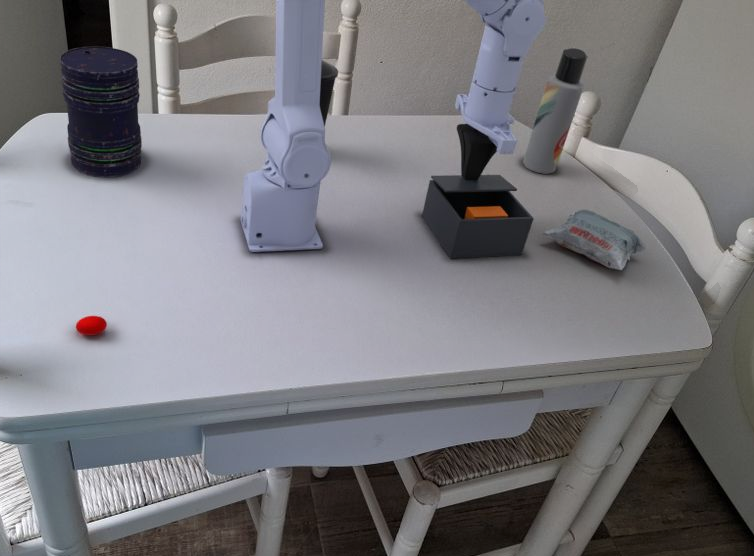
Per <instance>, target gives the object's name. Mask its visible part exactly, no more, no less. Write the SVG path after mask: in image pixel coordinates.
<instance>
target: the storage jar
mask: <svg viewBox="0 0 754 556" xmlns="http://www.w3.org/2000/svg"><path fill="white" fill-rule="evenodd" d="M59 61H60V66H61V68H60V70H61V76H60V77H61V86H62V90H63V91H62V95H63V99H64V102H66V110H67V120H68V123H67V128H66V129H67V143H68V148H69V154H70V155H71V156H70V163H71V166H72V167H73V168H74V170H76V171H77V172H78V173H80V174H83V175H87V176H91V177H96V178H97V177H98V178H117V177H122V176H127V175H129V174H132V173H134V172H136V171H137V170H138V169H139V168H140V167H141V166H142V163H143V161H142V159H143V158H142V155H141V154H142V146H143V144H142V143H143V142H142V131H141V130H142V129H141V125H140V124H139V107H138V104H139V101H140V96H141V94H140V79H139V71H138V67H139V66H138V58H137V57H136V55H134V54H132V53H130V52H129V51H126V50H123V49H119V48H115V47H108V46H82V47H76V48H72V49H69V50H67V51H64V52H63V53H61V55H60V57H59Z"/></svg>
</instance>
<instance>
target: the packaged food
mask: <svg viewBox="0 0 754 556" xmlns="http://www.w3.org/2000/svg"><path fill="white" fill-rule="evenodd" d="M542 234H543V235H544V236H546V237H550V238H551V239H554V240H555V242H556V243H557V244H559V245H560V246H561V247H563V248H566V249H568V250H571V251H573V252H575V253H577V254H579V255H582V256H585V257H586V258H587V259H588V260H591V261H593V262H595V263H598V264H600V265H603V266H605V267H607V268H609V269H615V270H619V271H623V269H624V268H625V266H626V264H627V261H631V256H632V255H635V254H636V253H640V252H642V251H644V252H645V250H646V247H645V245H644V243H643V242H642V241H641V239H640V237H639V236H638V235H637V234H636V233H635V231H634V230H632V229H630V228H627V227H626V226H623V225H621V224H619V223H618V222H615V221H614V220H613V221H612V220H609V219H608V218H606V217H604V216H602V215H601V214H598V213H596V212H595V211H592V210H588V209H581V210H578V211H574V213H573V214H570V215H569V216H567V218H566V221H565V222H564V223H563V224H561V226H557V227H555V228H550V229H548V230H546V231H543V233H542Z"/></svg>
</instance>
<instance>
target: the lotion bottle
mask: <svg viewBox="0 0 754 556" xmlns="http://www.w3.org/2000/svg"><path fill="white" fill-rule="evenodd" d="M588 57H589V56H588V55H587V53H586V52H585V51H584V50H582V49H580V48H574V47H573V48H565V49H563V51H562V53H561V56H560V59H559V63H558V66H557V69H556V72H555V75H551V76H549V77H548V79H547V82H546V85H545V88H544V90H543V94H542V97H541V102H540V104H539V107H538V110H537V113H536V117H535V120H534V124H533V127H532V130H531V133H530V136H529V140H528V143H527V147H526V149H525V150H526V151H525V154H524V158H523V160H522V161H523V166H524V167H525V168H526V169H528V170H529V171H532V172H534V173H537V174H541V175H542V174H543V175H548V174H549V175H550V174H553V173H554V172H555V171H556V169H557V167H558V165H559V161H560V158H561V155H562V152H563V150H564V147H565V143H566V141H567V138H568V135H569V132H570V129H571V126H572V123H573V121H574V117H575V115H576V111H577V108H578V105H579V102H580V99H581V96H582V93H583V90H584V83H583V82H581V79H582V75H583V72H584V70H585V66H586V63H587V59H588Z"/></svg>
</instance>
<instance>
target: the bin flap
mask: <svg viewBox="0 0 754 556" xmlns="http://www.w3.org/2000/svg"><path fill="white" fill-rule="evenodd" d="M430 178H431V180H434V181H435V182H436V183H437V184H438V185H439V186H440V187H441V188H442V189H443V190H444V191H445V192H446V193H448V192H493V191H510V192H517V191H518V188H517V187H515V186H514V185H513V184H512V183H510V182H509V181H508V180H507V179H506V178H504V176H502V175H501V174H481V175H480V177H479V179H478V180H465V179H464V178H463V177H462V175H461V174H460V175H459V174H458V175H457V174H452V175H451V174H450V175H431V176H430Z"/></svg>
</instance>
